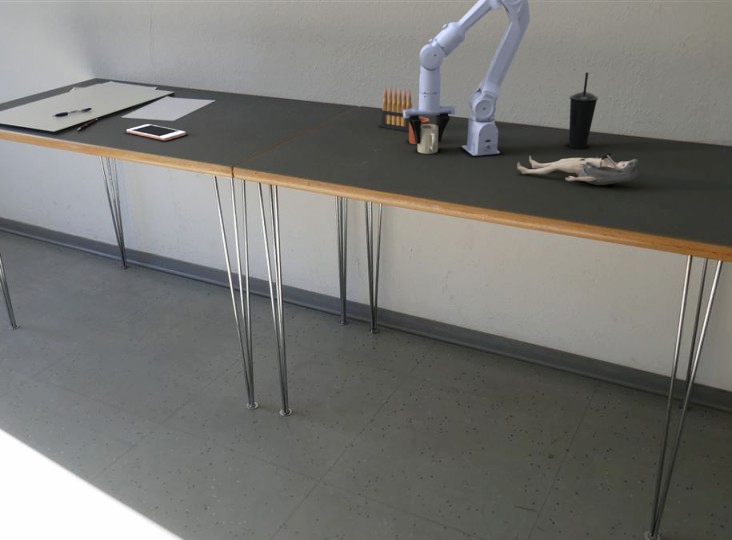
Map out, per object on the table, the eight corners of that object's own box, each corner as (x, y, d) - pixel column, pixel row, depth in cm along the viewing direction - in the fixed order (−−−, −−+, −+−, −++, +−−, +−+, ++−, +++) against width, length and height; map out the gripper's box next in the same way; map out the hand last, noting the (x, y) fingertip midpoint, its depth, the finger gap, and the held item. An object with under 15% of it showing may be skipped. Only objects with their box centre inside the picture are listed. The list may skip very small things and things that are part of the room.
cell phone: (164, 141, 242) (164, 138, 242) (126, 132, 252) (125, 129, 251) (186, 134, 248) (186, 131, 248) (148, 126, 258) (147, 123, 257)
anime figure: (531, 148, 212) (646, 149, 195) (532, 176, 216) (644, 180, 198) (515, 157, 206) (631, 159, 188) (516, 185, 209) (631, 190, 192)
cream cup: (415, 149, 230) (415, 125, 227) (433, 147, 232) (434, 123, 228) (423, 156, 224) (424, 131, 220) (443, 154, 225) (444, 130, 221)
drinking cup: (592, 150, 226) (602, 75, 215) (564, 149, 227) (573, 75, 217) (590, 143, 232) (600, 70, 222) (563, 142, 234) (572, 69, 223)
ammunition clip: (412, 130, 249) (413, 89, 242) (409, 131, 247) (410, 90, 241) (384, 125, 254) (384, 85, 248) (381, 126, 253) (381, 86, 247)
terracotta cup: (430, 143, 235) (431, 121, 232) (412, 145, 234) (412, 122, 231) (422, 136, 242) (422, 115, 238) (404, 138, 241) (404, 116, 237)
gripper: (449, 87, 225) (447, 136, 232) (400, 90, 222) (399, 140, 229) (458, 92, 219) (456, 142, 226) (407, 96, 216) (407, 146, 223)
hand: (428, 142), depth 227 cm, fingers closed on cream cup, 6 cm apart
